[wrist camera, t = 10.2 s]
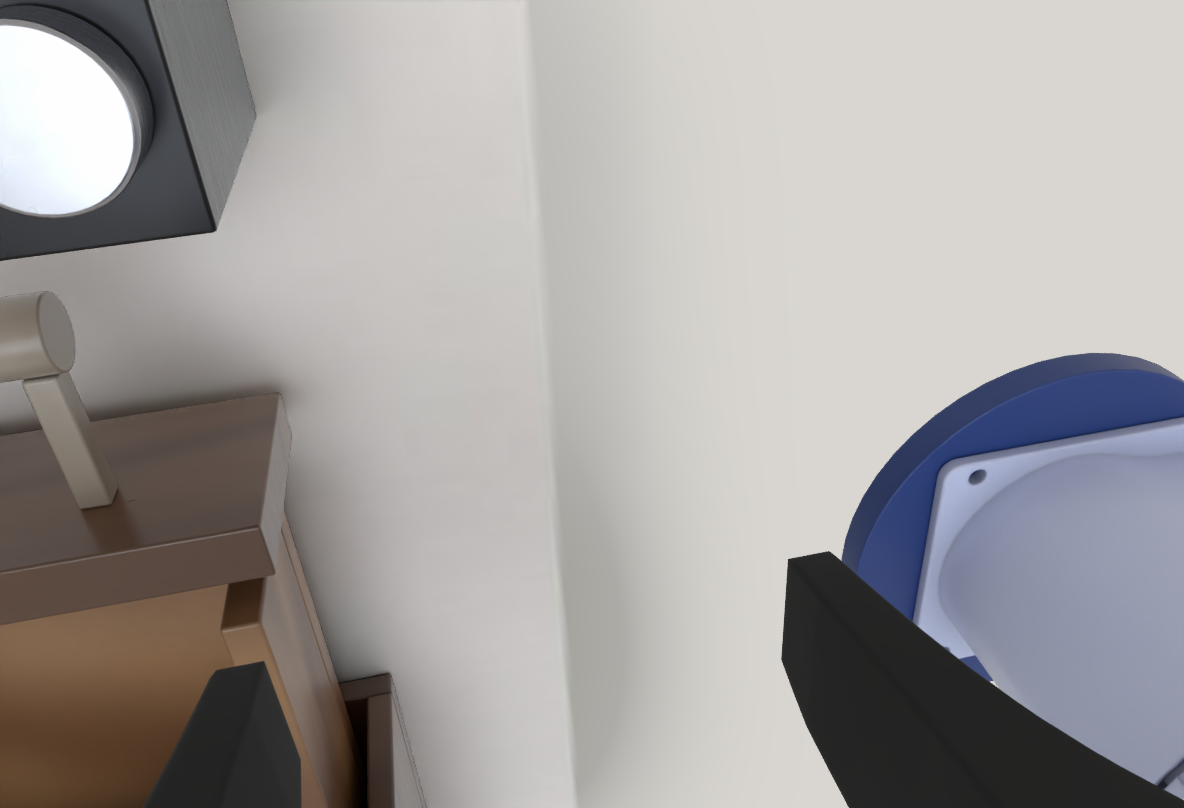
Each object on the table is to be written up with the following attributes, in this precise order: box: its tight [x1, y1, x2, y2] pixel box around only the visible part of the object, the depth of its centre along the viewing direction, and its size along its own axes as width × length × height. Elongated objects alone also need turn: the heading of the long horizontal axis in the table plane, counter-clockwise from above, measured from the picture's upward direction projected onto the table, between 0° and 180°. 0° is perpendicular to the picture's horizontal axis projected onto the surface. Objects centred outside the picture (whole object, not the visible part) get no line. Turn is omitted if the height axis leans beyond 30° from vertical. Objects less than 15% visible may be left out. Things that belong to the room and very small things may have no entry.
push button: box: [0, 0, 256, 261], centre depth 14 cm, size 3×4×7 cm
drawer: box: [0, 291, 367, 808], centre depth 20 cm, size 18×11×5 cm, turn 4°
